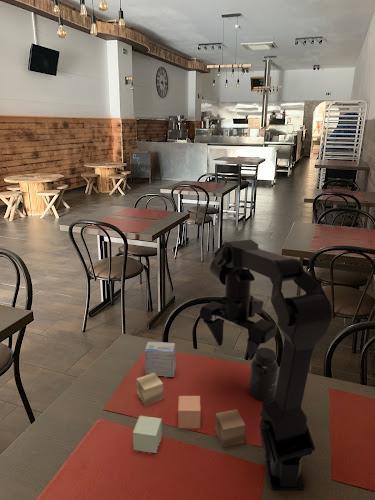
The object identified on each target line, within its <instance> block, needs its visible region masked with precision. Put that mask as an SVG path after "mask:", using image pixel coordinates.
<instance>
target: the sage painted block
mask: <svg viewBox="0 0 375 500" xmlns="http://www.w3.org/2000/svg"><path fill="white" fill-rule="evenodd" d="M162 419H163V418H159V417H151V416H146V415H139V416H138V419H137V421H136V424H135V426H134V429H133V431H132V440H133V441H132V443H133V451H134V450H139V451H145V452H153V453H158V451H157V449H158V450H159V448H158V446H159V447H160V444H159V443H161V440H162V438H161V437H163V425H162V423H163V422H162V421H163V420H162ZM145 452H144V453H145Z"/></svg>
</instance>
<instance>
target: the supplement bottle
mask: <svg viewBox="0 0 375 500" xmlns="http://www.w3.org/2000/svg"><path fill="white" fill-rule="evenodd" d="M278 375H279V365H278V362H277V361H276V353H275V351H274V350H273V349H271V348H268V347H260V348H259V347H258V349H257V351H256V354H255V356H254V358H253V359H252V360H251V362H250V375H249V393H250V395H251V396H252V397H253V398H255V399H256V400H260V401H264V400H266V399H270V398H274V397H275V393H276V387H277V381H278Z"/></svg>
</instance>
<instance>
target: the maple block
mask: <svg viewBox="0 0 375 500" xmlns="http://www.w3.org/2000/svg"><path fill="white" fill-rule="evenodd" d="M136 393H137V394H138V395H139V396H138V395H137V394H136V395H137V396H138V398H139V397H140V398H141V399H140V398H139V399H140V401H141V400H142V401H141V402H142V404H143V403H144V404H143V406H144V407H147V406H146V405H148V404H151V403H153V404H155V403H154V402H156V401H159V400H161V401H163V400H164V383H163V382H162V380H161V379H160V377H158V376H157V375H156V374H155V373H152V374H149V375H146V374H145V375H143V376H141V377H137V378H136ZM162 399H163V400H162ZM159 402H160V401H159ZM156 403H157V402H156ZM151 405H152V404H151ZM148 406H149V405H148Z"/></svg>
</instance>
